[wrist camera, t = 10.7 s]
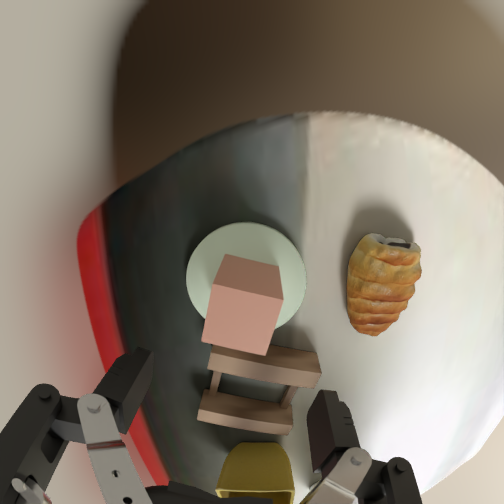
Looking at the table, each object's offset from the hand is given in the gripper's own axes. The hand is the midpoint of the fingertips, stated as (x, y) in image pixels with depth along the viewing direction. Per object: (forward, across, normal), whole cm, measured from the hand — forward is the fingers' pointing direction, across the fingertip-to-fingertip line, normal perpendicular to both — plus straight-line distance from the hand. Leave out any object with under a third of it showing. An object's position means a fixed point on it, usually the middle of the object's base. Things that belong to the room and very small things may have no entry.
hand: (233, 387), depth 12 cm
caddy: (+13, -3, +11) cm, 17 cm away
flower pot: (+14, -7, +25) cm, 29 cm away
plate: (+13, 0, 0) cm, 13 cm away
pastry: (+13, -11, -3) cm, 18 cm away
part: (+12, 0, 0) cm, 12 cm away
